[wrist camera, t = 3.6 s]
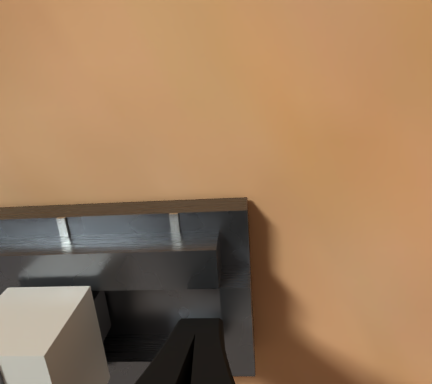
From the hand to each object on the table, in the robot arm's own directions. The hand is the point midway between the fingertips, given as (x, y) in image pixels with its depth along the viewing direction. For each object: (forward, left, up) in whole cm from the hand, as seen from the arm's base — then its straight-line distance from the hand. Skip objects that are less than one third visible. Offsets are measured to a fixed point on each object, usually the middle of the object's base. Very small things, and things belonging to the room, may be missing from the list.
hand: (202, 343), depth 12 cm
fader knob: (0, +5, -2) cm, 5 cm away
